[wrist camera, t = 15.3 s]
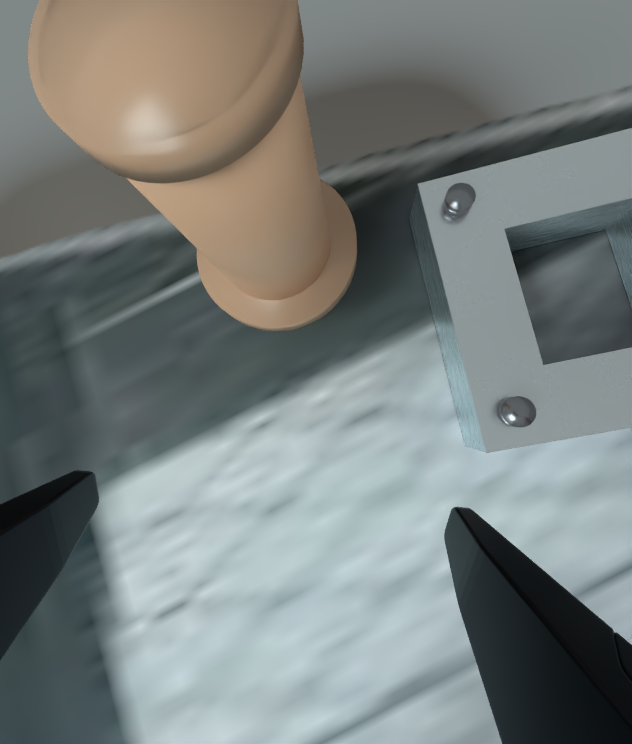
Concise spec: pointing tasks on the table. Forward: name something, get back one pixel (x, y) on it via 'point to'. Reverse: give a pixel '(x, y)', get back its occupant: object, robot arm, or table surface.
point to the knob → (206, 139)
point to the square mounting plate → (504, 294)
